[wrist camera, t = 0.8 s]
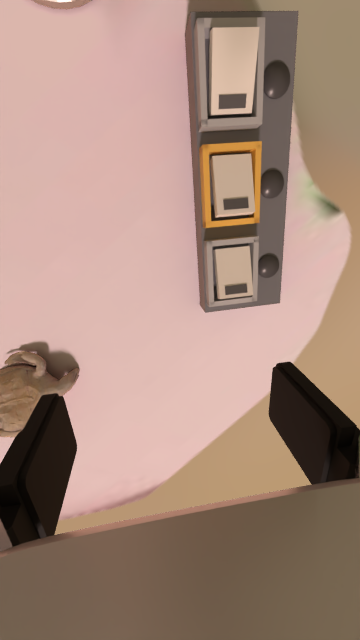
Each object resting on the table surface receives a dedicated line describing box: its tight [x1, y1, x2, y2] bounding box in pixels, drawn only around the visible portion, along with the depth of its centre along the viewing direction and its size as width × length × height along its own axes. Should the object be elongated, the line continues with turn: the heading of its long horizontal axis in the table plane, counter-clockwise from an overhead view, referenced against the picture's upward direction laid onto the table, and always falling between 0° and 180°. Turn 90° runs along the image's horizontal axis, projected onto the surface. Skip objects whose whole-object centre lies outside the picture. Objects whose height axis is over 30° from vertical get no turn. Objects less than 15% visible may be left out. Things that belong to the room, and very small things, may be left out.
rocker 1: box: [208, 27, 260, 116], centre depth 23 cm, size 6×4×1 cm
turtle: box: [0, 351, 79, 437], centre depth 33 cm, size 16×10×10 cm, turn 127°
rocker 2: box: [213, 246, 253, 299], centre depth 30 cm, size 6×4×1 cm
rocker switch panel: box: [185, 11, 298, 313], centre depth 29 cm, size 28×10×4 cm, turn 5°
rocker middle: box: [210, 154, 255, 217], centre depth 27 cm, size 6×4×1 cm
